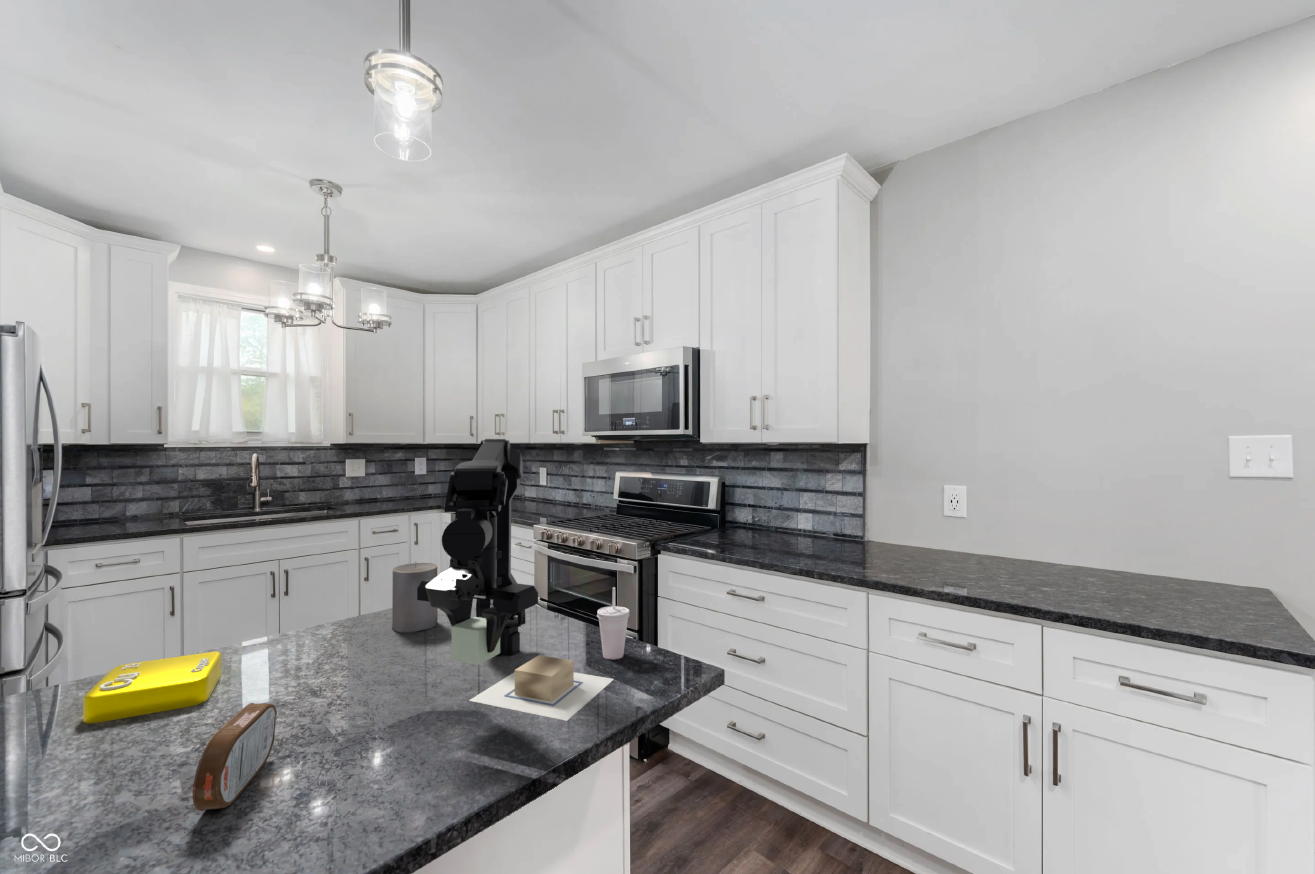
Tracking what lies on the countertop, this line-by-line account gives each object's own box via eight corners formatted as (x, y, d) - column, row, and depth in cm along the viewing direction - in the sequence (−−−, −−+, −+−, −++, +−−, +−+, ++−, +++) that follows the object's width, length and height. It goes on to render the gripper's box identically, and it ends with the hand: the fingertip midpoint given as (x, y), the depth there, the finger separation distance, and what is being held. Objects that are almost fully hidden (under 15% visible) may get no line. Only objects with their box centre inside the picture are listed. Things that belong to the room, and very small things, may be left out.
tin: (254, 754, 75) (255, 691, 75) (280, 751, 76) (281, 689, 76) (188, 829, 60) (189, 750, 61) (221, 824, 61) (222, 747, 61)
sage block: (451, 659, 83) (451, 626, 83) (474, 648, 88) (474, 616, 88) (478, 664, 81) (478, 630, 81) (500, 653, 86) (500, 620, 86)
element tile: (205, 705, 90) (206, 675, 90) (77, 728, 83) (78, 696, 83) (223, 672, 103) (224, 646, 103) (114, 690, 96) (114, 662, 96)
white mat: (468, 706, 89) (468, 699, 89) (526, 669, 104) (526, 663, 104) (566, 727, 82) (566, 719, 82) (614, 684, 97) (614, 678, 97)
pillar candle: (406, 618, 135) (406, 556, 135) (445, 619, 134) (445, 557, 134) (383, 632, 125) (382, 565, 125) (424, 633, 124) (424, 566, 124)
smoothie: (631, 654, 111) (632, 584, 112) (627, 667, 105) (627, 592, 105) (600, 653, 112) (600, 583, 112) (593, 666, 106) (593, 592, 106)
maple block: (514, 694, 91) (514, 669, 91) (538, 677, 98) (538, 655, 98) (551, 701, 89) (551, 676, 89) (573, 684, 95) (573, 660, 95)
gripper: (388, 551, 81) (387, 659, 81) (492, 562, 74) (491, 680, 74) (444, 539, 91) (443, 634, 91) (540, 547, 84) (539, 651, 84)
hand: (476, 649), depth 85 cm, fingers closed on sage block, 5 cm apart
